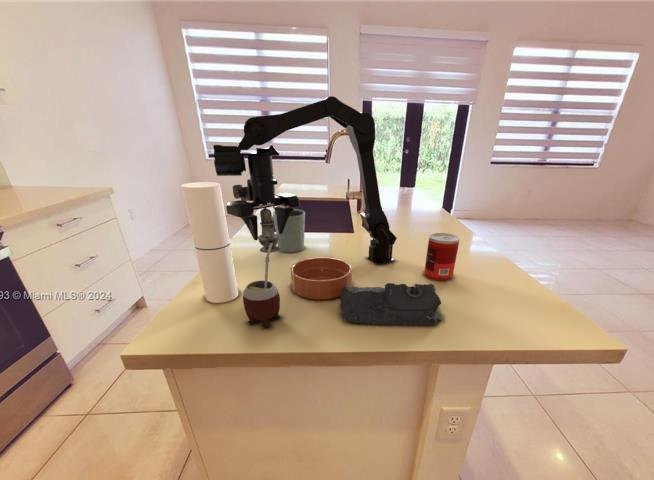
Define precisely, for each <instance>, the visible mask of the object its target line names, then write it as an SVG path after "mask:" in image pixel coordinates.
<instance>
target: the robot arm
mask: <svg viewBox="0 0 654 480" xmlns="http://www.w3.org/2000/svg"><path fill="white" fill-rule="evenodd" d="M328 117H329V118H330V119H331V120H333V121H334V122H336V123H337V124H338V125H339V126H341V127H342V128H344V129H346V133H347V135H348V138H349V141H350V144H351V145H352V148H353V150H354V151H355V155H356V160H357V165H358V171H359V177H360V182H361V189H362V194H363V195H362V196H363V201H364V206H365V207H364V212H360V213H359V216H360V218H361V219H360V220H361V227H362V228H364V230H365V232H367V233H368V234H369V237H370V238H372V239H371V240H370V241H369V243H370V244H369V246H368V255H367V256H366V259H368V260H369V261H371V262H372V263H374V264H376V265H383V264H387V263H388V264H389V263H393V262H395V261H396V259H395V258H393V248H394V245H395V243H396V241H397V239H398V238H397V236H396V235H395V234H394V233H393V232H392V231H391V230H390V223H389V220H388V218H387V215H386V213H385V211H384V209H383V206H382V203H381V196H380V190H379V189H380V188H379V183H378V176H377V169H376V163H375V156H374V148H375V143H376V121H375V118H374V116H372V115H371V114H369V113H368V112H360V111H358V110H357V109H355V108H354V107H351V106H350V105H348V104H346V103H344V102H342V101H341V100H339V99H338V98H337V97H336V96H334V95H331V96H330V95H329V96H327V97H325V98H324V99H322V100H319V101H316V102H313V103H309V104H306V105H303V106H301V107H297V108H295V109H291V110H289V111H285V112H283V113H277V114H267V115H259V116H252V117H249V118H248V119H246V121H245V122H244V124H243V134H244V135H243V137H242V138H241V140H239V141H238V145H223V144H213V157H214V160H213V164H214V169H215V173H216V176H217V177H241V176H243V172H247V166H248V172H249V178H247V179H246V180H247V181H246V186H243V185H242V184H234V185H232V194H233V197H234V199H235V200H233V201H232V200H231V201H228V202H227V204H226V206H225V209H226V214H228V215H230V216H234V217H238V218H240V219H241V220H242V221H243V222H244V224H245V226H246V228H247V229H248V231H249V233H250V235H251V237H252V239H253V240H254V241H258V236H259V230H258V229H259V226H258V215H256V214H254V212H255V211H256V210H262V209H264V208H267V209H269V208H273V211H275V212H276V215H277V226H278V232H279V234H282V233H283V230H284V228H285V225H286V222H287V220H288V218H289V216H290V214H291V212H292V211H293V210H294V209H295V207H300V198H299V197H298V196H297V194H293V193H288V192H284V193H278V194H276V187H275V185H278V179H275V178H274V177H275V176H274V167H273V156H275V157H277V156H278V157H279V156H280V152H279V151H278V150H277V149H276V148H275V147H274V145H273V144H270V145H269V147H256V148H255V150H256V151H255V152H252V151H251V152H249V150H250V149H251V148H252V147H254V146H263V145H265V144H267V143H269V142H270V141H272V140H274V139H276V138H277V137H279V136H280V135H281V134H284V133H285V132H287V131H291V130H293V129H296V128H299V127H302V126H304V125H308V124H312V123H314V122H316V121H317V122H318V121H320V120H323V119H326V118H328ZM244 151H248V152H244ZM245 157H246V158H247V164H246V158H245Z"/></svg>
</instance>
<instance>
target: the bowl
mask: <svg viewBox="0 0 654 480" xmlns="http://www.w3.org/2000/svg"><path fill="white" fill-rule="evenodd" d="M289 270H290V280H291V290H292V291H293V293H294V294H296V295H298V296H299V297H303V298H305V299H310V300H330V299H335V298H338V297H339V298H340V297H341V292H342V290H343V288H344V287H353V286H352V285H353V267H352V265H351V264H349V262H347V261H345V260H342V259H339V258H334V257H310V258H304V259H302V260H298V261H297V262H295V263H293V264H292V265H291V267H290V269H289Z"/></svg>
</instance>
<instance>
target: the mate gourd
mask: <svg viewBox="0 0 654 480" xmlns="http://www.w3.org/2000/svg"><path fill="white" fill-rule="evenodd" d="M272 245H273V243H270V246H269V249H268V251H267V253H266V256H265V257H264V258H265V260H264V262H265V266H264V267H265V270H264V280H255V281H252V282H250V283H248V284H247V285H246V286H245V288H244V289H243V292H242V302H243V307H244V308H243V309H244V312H245V315H246V316H247V318H248V320H247V322H248V325H254V324H259V323H262V324H263V327H264V329H269V328H270V325H269V322H271V321H276V320H280V317H281V316H280V315H279V313H280V308H281V294H280V293H279V289H278V287H277V286H276V284H275V283H273V282H271V281H269V279H268V278H269V263H270V255H271V253H270V251H271V248H272Z"/></svg>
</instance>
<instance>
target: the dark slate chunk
mask: <svg viewBox="0 0 654 480" xmlns="http://www.w3.org/2000/svg"><path fill="white" fill-rule="evenodd" d="M436 290H437V289H436V287H435V285H434V284H433V283H428V284H427V283H426V284H425V283H424V284H422V283H419V284H418V283H415V284H414V286H408V285H407V283H400V284H397V283H395V282H394V283H393V282H387V283H386V284H385V285H384V287H383V286H382V287H380V286H371V287H370V286H363V287H362V286H361V287H359V286H351V287H344V288H343V290H342V292H341V296H339V301H340V303H339V307H340V315H341V317H342V318H343V319H344V322H346V323H354V324H358V325H376V326H419V327H420V326H421V327H422V326H434V325H436V324H437V323H438V322H442V319H443V318H442V316H441V314H439V312H438V308H439V307H440V305H441V304H442V300H441V298H440V296H439V295H438V293H437V292H436Z"/></svg>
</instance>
